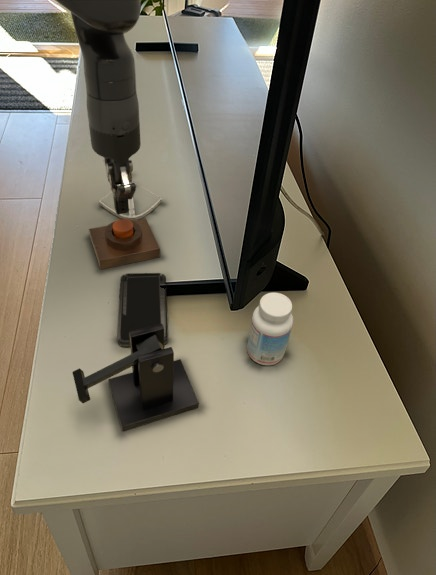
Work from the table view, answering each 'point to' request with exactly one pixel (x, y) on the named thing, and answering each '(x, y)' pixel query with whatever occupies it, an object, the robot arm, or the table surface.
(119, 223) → the button
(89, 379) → the lever
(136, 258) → the button block
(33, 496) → the table surface
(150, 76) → the table surface
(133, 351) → the bracket
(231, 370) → the table surface
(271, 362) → the pill bottle
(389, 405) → the table surface
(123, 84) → the robot arm
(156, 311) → the phone
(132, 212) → the crossbow
